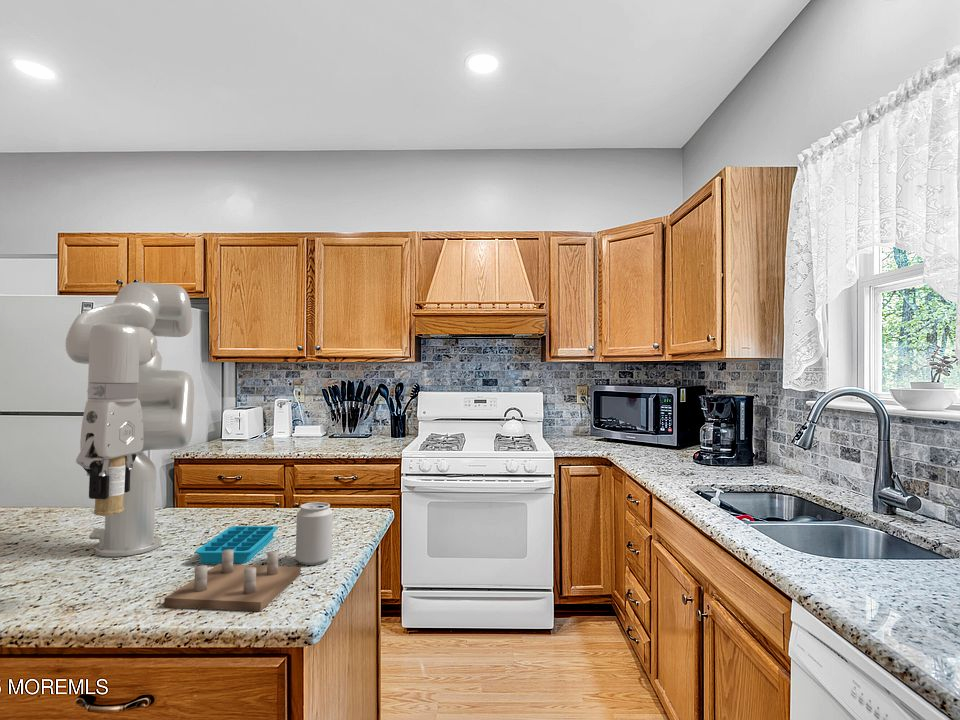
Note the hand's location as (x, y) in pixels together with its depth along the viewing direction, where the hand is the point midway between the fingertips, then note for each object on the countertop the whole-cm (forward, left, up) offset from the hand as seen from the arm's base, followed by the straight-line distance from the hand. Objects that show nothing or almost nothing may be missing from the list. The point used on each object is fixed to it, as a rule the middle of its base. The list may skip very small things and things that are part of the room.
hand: (109, 494), depth 96 cm
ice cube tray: (+10, +28, -19) cm, 35 cm away
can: (+29, +23, -18) cm, 41 cm away
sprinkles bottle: (0, 0, -4) cm, 4 cm away
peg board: (+21, +6, -18) cm, 29 cm away
